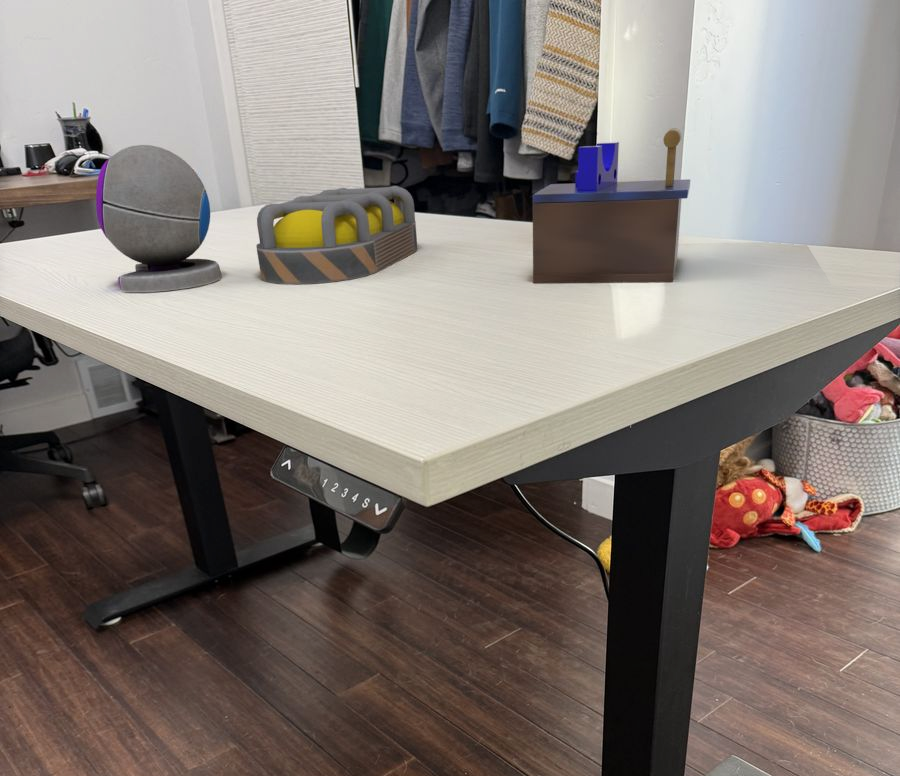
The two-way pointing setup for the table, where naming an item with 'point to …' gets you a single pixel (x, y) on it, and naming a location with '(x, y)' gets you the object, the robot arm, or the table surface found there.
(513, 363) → the table surface
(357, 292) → the table surface
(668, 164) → the lid
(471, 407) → the table surface
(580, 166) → the cable holder
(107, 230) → the grey ball on stand
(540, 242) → the chest
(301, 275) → the cage light
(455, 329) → the table surface
